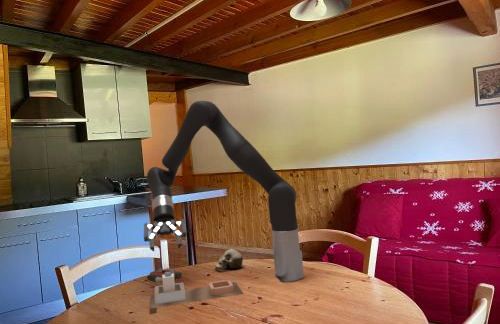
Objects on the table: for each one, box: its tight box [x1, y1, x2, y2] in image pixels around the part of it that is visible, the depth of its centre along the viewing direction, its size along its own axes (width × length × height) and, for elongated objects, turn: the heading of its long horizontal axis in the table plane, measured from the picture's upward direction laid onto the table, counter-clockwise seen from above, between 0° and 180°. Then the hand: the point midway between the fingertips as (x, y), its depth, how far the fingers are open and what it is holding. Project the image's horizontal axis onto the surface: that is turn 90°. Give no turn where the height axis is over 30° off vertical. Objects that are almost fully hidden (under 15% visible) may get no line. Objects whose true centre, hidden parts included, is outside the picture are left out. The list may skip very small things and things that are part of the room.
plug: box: [162, 271, 176, 293], centre depth 117 cm, size 4×4×8 cm
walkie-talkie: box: [146, 267, 182, 283], centre depth 140 cm, size 9×4×20 cm
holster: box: [208, 279, 234, 295], centre depth 121 cm, size 7×7×2 cm
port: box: [154, 282, 186, 306], centre depth 117 cm, size 9×9×3 cm
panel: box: [149, 281, 244, 314], centre depth 119 cm, size 28×12×2 cm, turn 103°
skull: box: [215, 248, 245, 273], centre depth 151 cm, size 12×10×10 cm
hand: (166, 248), depth 127 cm, fingers open, 8 cm apart
